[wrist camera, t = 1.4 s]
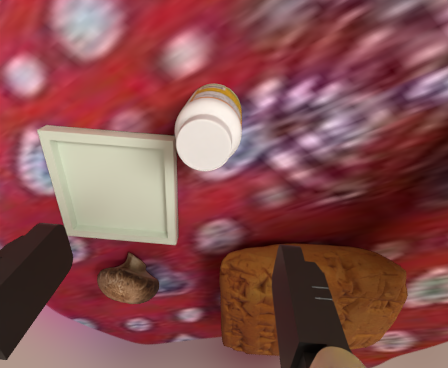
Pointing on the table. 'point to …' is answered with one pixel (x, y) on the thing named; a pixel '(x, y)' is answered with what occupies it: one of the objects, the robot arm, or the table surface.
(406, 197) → the table surface
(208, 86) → the supplement bottle
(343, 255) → the clay tablet
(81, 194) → the tray
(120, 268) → the mushroom
